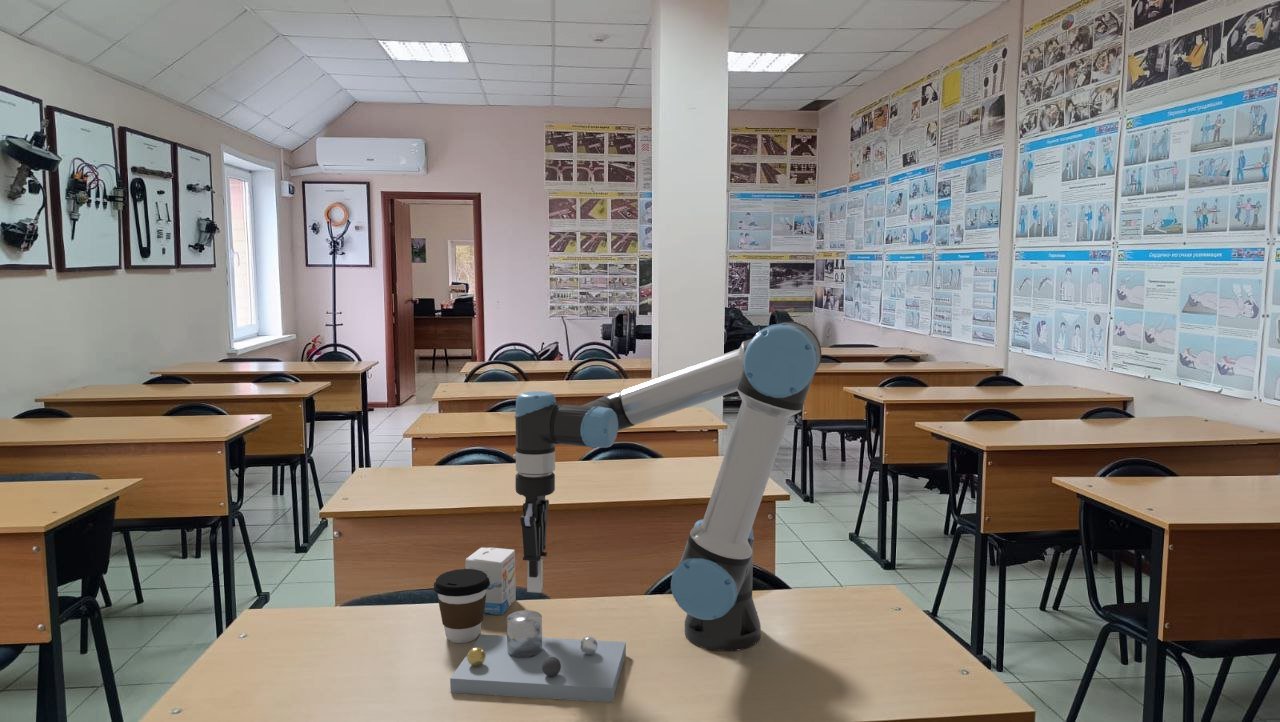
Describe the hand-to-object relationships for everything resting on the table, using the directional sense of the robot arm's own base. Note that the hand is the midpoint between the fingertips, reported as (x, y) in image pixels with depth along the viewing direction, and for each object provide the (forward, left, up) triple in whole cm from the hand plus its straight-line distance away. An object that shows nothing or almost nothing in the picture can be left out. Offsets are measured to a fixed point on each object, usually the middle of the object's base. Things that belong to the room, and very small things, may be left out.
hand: (535, 590), depth 153 cm
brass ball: (+7, +16, -6) cm, 18 cm away
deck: (-4, +13, -10) cm, 17 cm away
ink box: (+14, -15, -10) cm, 23 cm away
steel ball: (-12, +10, -6) cm, 17 cm away
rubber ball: (-7, +18, -6) cm, 20 cm away
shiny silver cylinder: (0, +10, -7) cm, 12 cm away
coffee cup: (+15, 0, -10) cm, 18 cm away
